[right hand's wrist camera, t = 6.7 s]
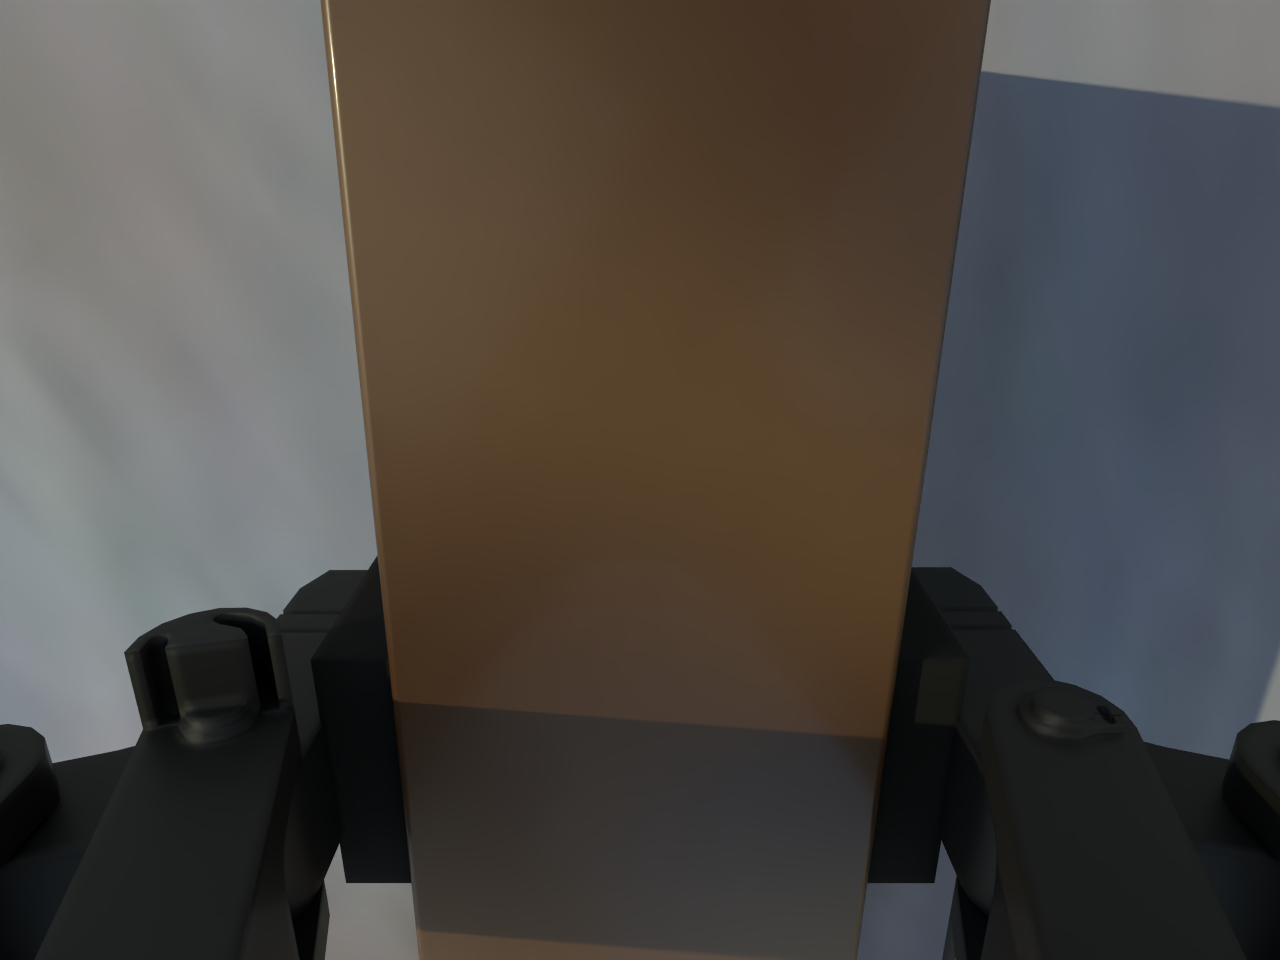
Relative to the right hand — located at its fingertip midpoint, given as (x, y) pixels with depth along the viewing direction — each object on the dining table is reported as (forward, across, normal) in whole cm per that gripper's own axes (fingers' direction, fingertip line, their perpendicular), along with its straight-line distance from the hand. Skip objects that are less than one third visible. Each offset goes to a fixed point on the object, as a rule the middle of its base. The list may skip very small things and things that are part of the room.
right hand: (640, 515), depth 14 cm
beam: (0, 0, -34) cm, 34 cm away
